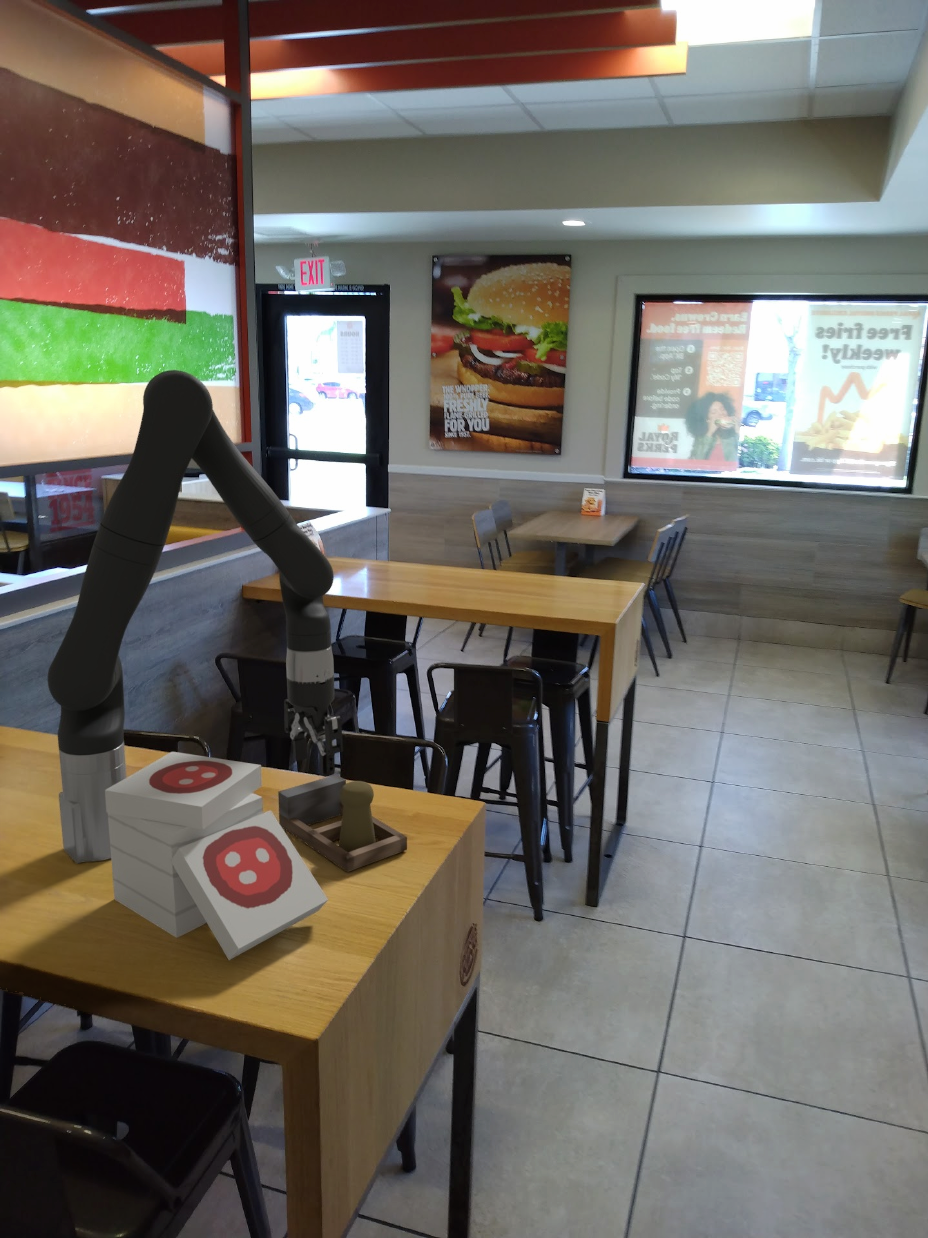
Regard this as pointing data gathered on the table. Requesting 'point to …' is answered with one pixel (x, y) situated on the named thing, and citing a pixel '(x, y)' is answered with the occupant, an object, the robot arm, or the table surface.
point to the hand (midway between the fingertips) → (314, 767)
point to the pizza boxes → (206, 852)
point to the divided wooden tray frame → (325, 803)
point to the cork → (356, 816)
